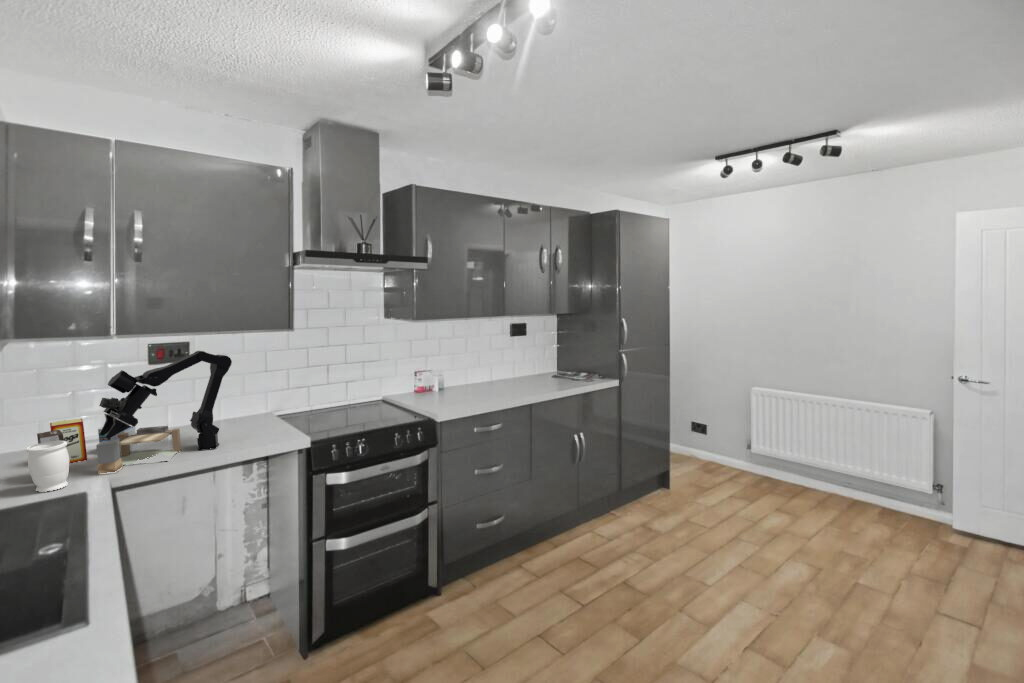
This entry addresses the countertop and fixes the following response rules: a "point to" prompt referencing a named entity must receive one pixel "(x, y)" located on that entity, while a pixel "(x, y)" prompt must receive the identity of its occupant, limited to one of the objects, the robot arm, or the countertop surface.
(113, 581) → the countertop surface
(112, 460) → the basalt block
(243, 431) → the countertop surface
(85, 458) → the baking soda box
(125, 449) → the stand
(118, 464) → the plinth
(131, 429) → the light bulb box
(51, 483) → the jar
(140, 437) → the trapdoor
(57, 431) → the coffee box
